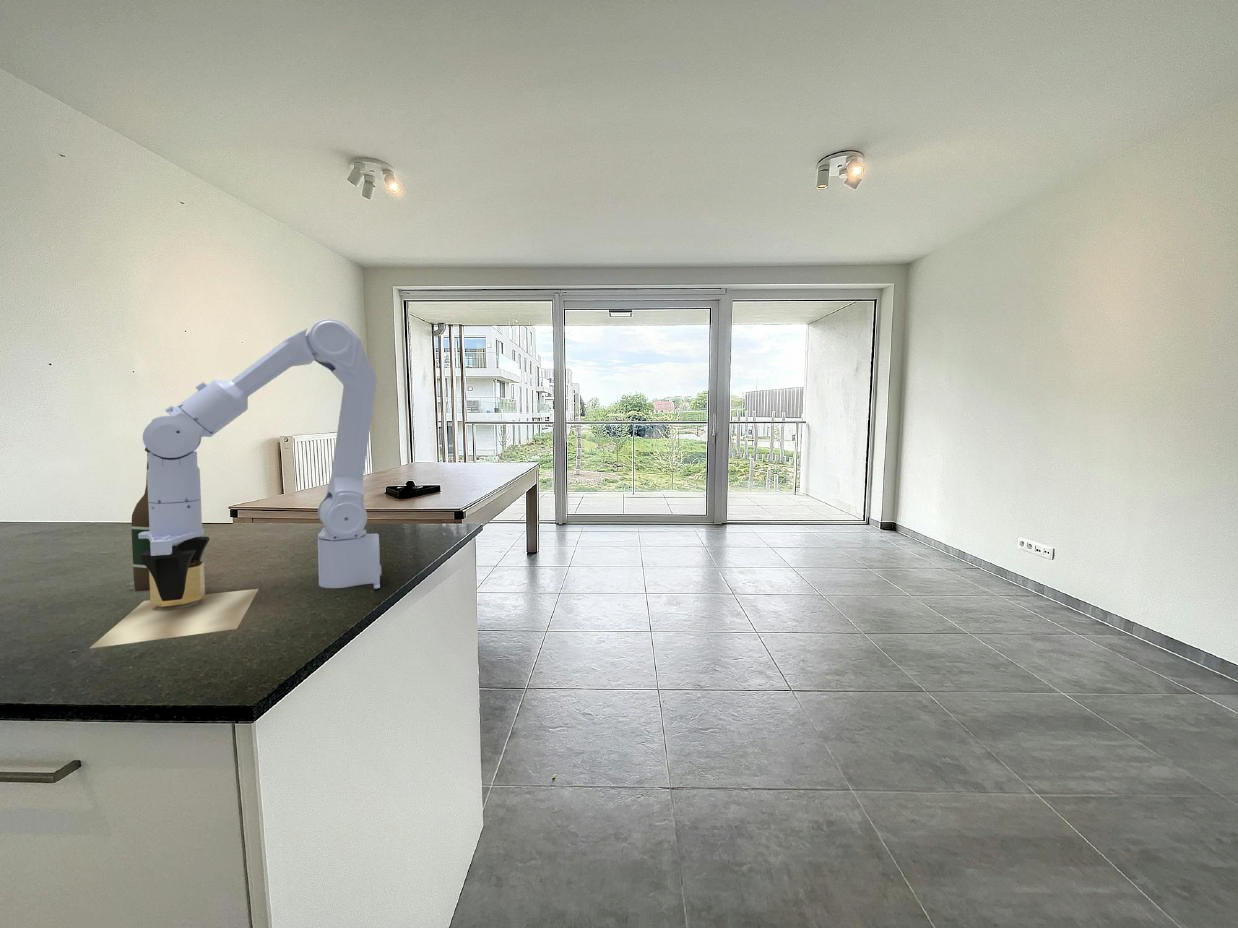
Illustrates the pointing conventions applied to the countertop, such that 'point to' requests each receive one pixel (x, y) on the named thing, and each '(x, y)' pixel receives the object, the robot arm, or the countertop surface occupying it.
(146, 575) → the beer bottle
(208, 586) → the countertop surface
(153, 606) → the board
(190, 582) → the collar ring
